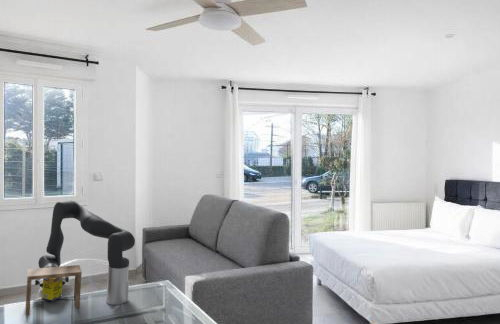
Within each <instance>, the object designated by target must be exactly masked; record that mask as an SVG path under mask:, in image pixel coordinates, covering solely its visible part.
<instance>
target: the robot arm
mask: <svg viewBox="0 0 500 324" xmlns="http://www.w3.org/2000/svg"><path fill="white" fill-rule="evenodd" d="M65 219H75V220H77V221H79V223H80V227H81V229H82V230H84V232H86V233H87V234H89V235H91V236H94V237H98V238H102V239H106V240H107V239H108V240H107V261H108V271H107V282H106V283H107V286H106V300H105V302H106V303H107V304H108V305H112V306H113V305H114V306H117V305H122V304H125V303H128V302H129V300H128V299H129V286H130V281H129V269H130V260H129V258H127V257H124V256H123V252H126V251H129V250H131V249H133V248H134V246H135V244H136V239H135V237H134V235H133V233H131V232H130V231H128V230H126V229H124V228H121V227H118V226H117V225H114V224H112V223H111V222H109V221H108V220H106V219H103V218H102V217H100V216H98V215H97V214H95V213H93V212H91V211H89V210H87V208H84V206H82V205H81V204H79V203H78V202H77V201H75V200H62V201H56V203H55V204H54V206H53V211H52V218H51V229H50V234H49V239H48V242H47V246H46V253H47V254H49V255H47V254H45V255H42V256H41V257H39V259H38V268H49V267H61V262H62V261H61V251H62V248H63V244H64V238H65V237H64V236H65V235H64V233H63V230H62V222H63V220H65ZM69 279H70V276H67V277H63V280H62V287H63V286H64V285H66V283H68V282H69ZM34 285H35V286H39V288H40V287H41V288H42V289H43V279H35V280H34Z"/></svg>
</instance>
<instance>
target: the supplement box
mask: <svg viewBox="0 0 500 324" xmlns="http://www.w3.org/2000/svg"><path fill="white" fill-rule="evenodd" d="M62 280H63V277H57V278H46V279H43V288H42V293H41V294H42V295H41V300H42V301H43V300H44V301H48V302H52V303H53V302H55V301H56V300H58V299H60V298H62V292H63V286H62Z"/></svg>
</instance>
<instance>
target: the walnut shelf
mask: <svg viewBox="0 0 500 324" xmlns="http://www.w3.org/2000/svg"><path fill="white" fill-rule="evenodd" d="M67 276H69V277H74V289H73V302H74V307H75V309H79V308H80V304H81V289H82V287H81V286H82V269H81V266H80V264H77V265H63V266H61V265H60V266H59V267H49V268H39V267H37V268H28V269H27V279H26V280H27V281H26V294H25V295H26V296H25V297H26V298H25V316H29V315H31V314H30V312H31V311H30V310H31V298H32V297H31V295H32V281H33V280H34V281H35V279H46V278H57V277H67Z"/></svg>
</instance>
